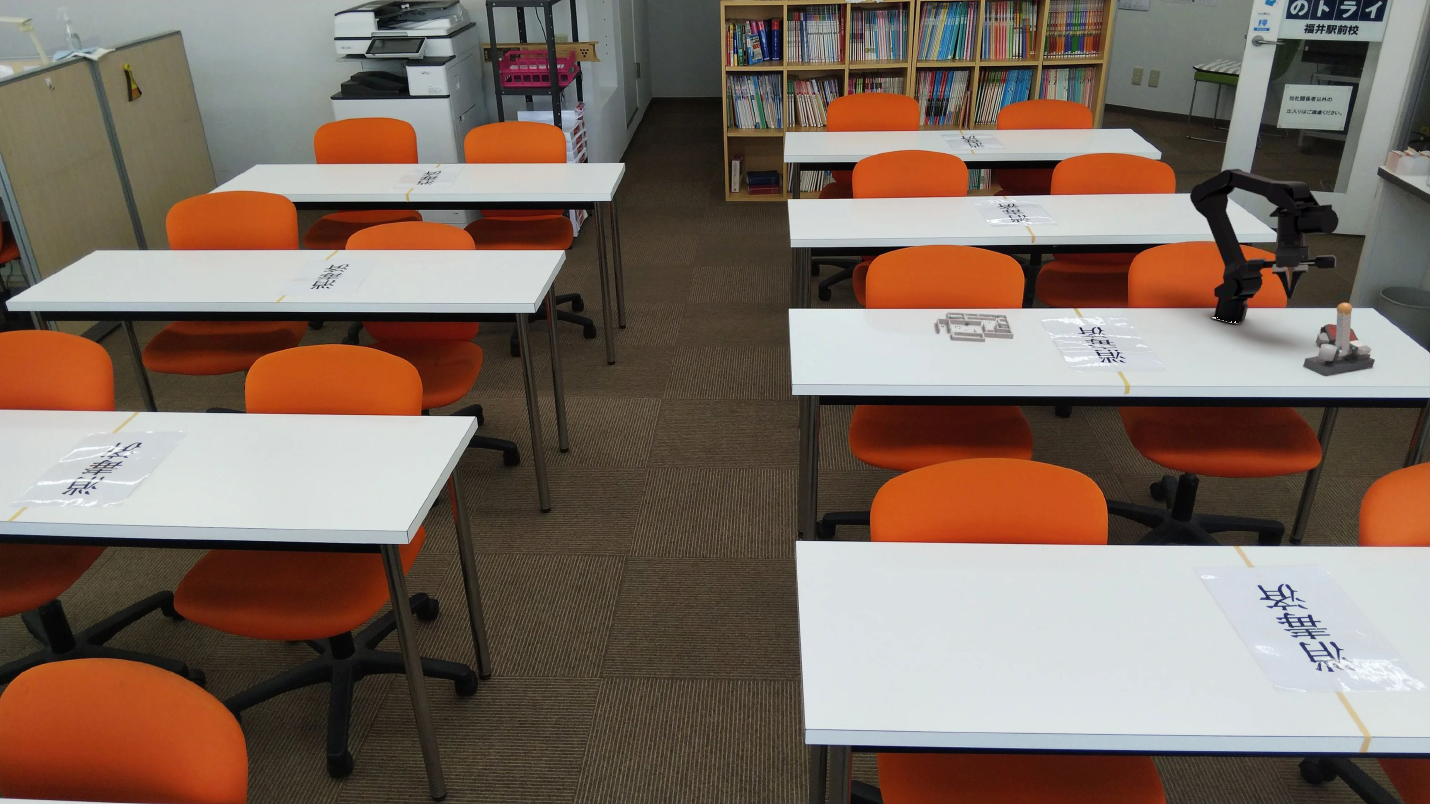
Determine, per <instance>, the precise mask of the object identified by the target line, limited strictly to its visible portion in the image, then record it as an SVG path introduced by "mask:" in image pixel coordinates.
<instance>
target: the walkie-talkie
mask: <svg viewBox="0 0 1430 804" xmlns="http://www.w3.org/2000/svg"><path fill="white" fill-rule="evenodd" d="M1336 327H1337V324H1332V323H1328V324H1325V325H1323V326H1322V327H1320V330H1319V331H1320V332H1321V333H1319V334H1317V338H1316V340H1315V343H1316V346H1317V347H1318V348H1321V345H1322V344H1331V345H1334V346H1336ZM1354 331H1355V330H1354V329H1353V328H1351V327H1350V341H1356V340H1358V341H1359V339H1358V337H1357V334H1356V333H1355V332H1354Z"/></svg>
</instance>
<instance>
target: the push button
mask: <svg viewBox="0 0 1430 804" xmlns="http://www.w3.org/2000/svg"><path fill="white" fill-rule="evenodd" d="M1319 348H1320V349H1319V351H1318V355H1317V356H1318V358H1319V359H1321V360H1325V361H1333V359H1334V356H1335V353H1336V350H1337V347H1336V346H1334V345H1331V344H1322V345H1321V347H1319Z"/></svg>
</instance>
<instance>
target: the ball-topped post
mask: <svg viewBox="0 0 1430 804" xmlns="http://www.w3.org/2000/svg"><path fill="white" fill-rule="evenodd" d="M1336 311H1337V312H1336V325H1337V327H1336V347H1337V349H1339V350H1340V353H1339V356H1338V358H1342V357H1348V356H1351V355H1352V350H1351V349H1350V348H1349V344H1350V328H1351V325H1352V324H1351V323H1352V322H1351V321H1352V311H1353V306H1352V305H1351V303H1349V302H1341V303H1340V304H1337V307H1336Z"/></svg>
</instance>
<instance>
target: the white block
mask: <svg viewBox="0 0 1430 804" xmlns="http://www.w3.org/2000/svg"><path fill="white" fill-rule="evenodd" d="M1350 344H1352V345H1354V346H1357V347H1358V350H1357V353H1358V354H1360V355H1362V354H1370V353H1371V351H1372V347H1370V346H1368V345H1366V344H1365V343H1363V342H1361V341H1360V340H1359V339H1358V340H1356V341H1350Z"/></svg>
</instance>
